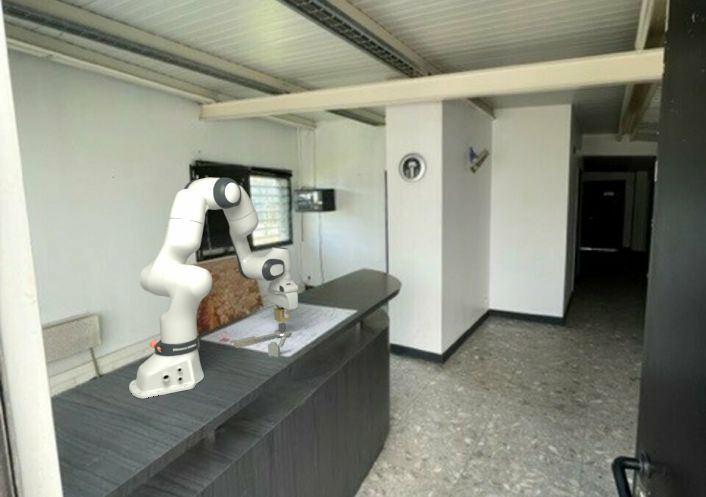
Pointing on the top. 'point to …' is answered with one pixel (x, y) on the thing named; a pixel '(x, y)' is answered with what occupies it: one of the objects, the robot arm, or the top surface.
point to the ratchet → (264, 337)
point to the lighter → (275, 347)
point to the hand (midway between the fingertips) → (282, 315)
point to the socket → (280, 314)
